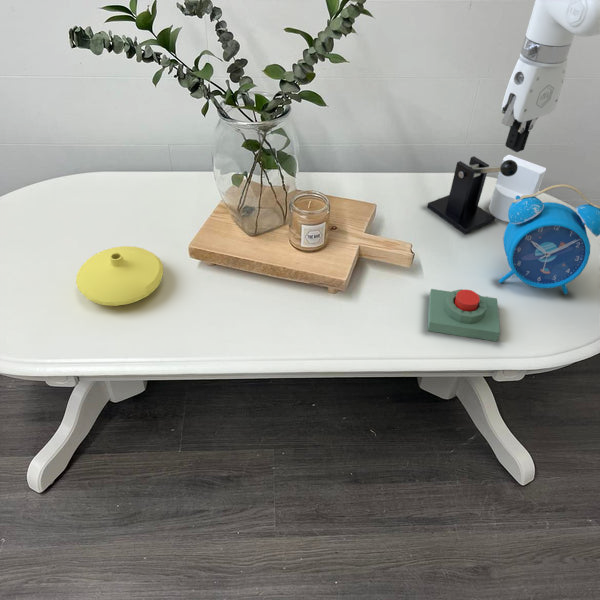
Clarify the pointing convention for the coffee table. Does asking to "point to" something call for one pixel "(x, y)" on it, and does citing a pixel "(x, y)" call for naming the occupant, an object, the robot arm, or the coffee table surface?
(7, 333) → the coffee table surface
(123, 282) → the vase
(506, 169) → the lever
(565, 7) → the robot arm
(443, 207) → the bracket
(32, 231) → the coffee table surface
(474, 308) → the button
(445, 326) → the button box
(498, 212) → the base with upright slab
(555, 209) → the alarm clock
